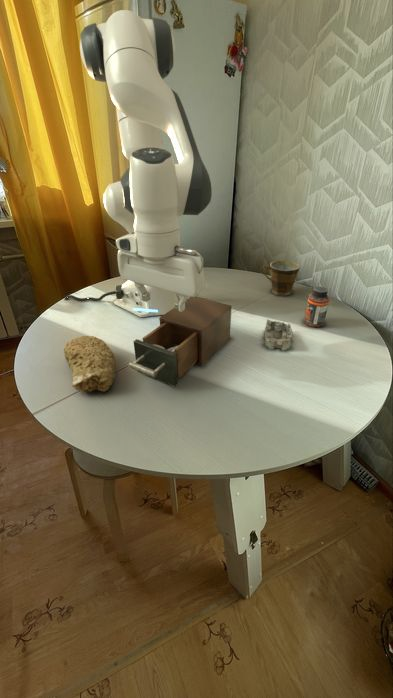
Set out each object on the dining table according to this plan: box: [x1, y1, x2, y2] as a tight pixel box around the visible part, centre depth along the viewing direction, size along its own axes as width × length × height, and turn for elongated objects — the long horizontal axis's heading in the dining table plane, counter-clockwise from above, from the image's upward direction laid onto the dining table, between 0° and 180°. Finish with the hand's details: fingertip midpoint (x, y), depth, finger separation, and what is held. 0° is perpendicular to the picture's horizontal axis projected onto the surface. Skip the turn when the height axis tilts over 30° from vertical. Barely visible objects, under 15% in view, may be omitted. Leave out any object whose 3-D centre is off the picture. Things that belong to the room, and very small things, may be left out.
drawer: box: [128, 322, 199, 387], centre depth 85 cm, size 19×11×9 cm, turn 148°
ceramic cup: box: [260, 259, 301, 297], centre depth 124 cm, size 13×10×10 cm
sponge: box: [63, 335, 116, 393], centre depth 87 cm, size 13×8×20 cm
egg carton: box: [263, 319, 293, 351], centre depth 99 cm, size 11×8×4 cm
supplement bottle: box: [303, 286, 330, 328], centre depth 105 cm, size 6×6×11 cm
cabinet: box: [158, 296, 233, 367], centre depth 95 cm, size 16×13×11 cm
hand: (162, 305), depth 78 cm, fingers open, 8 cm apart
